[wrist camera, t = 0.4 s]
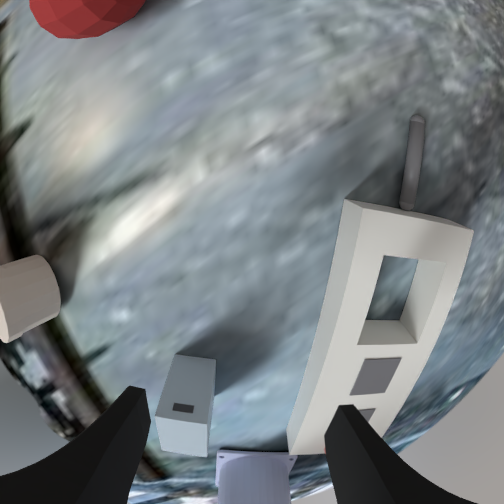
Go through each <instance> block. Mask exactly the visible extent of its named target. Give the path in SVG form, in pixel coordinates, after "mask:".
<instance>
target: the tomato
mask: <svg viewBox="0 0 504 504" xmlns="http://www.w3.org/2000/svg"><path fill="white" fill-rule="evenodd" d="M29 1H30V9H31V11H32V13H33V15H34V17H35V19H36V20H37V22H38V23H39V25H40V26H41V27H42V28H44V29H45V30H47V31H48V32H50V33H52V34H53V35H55V36H56V37H58V38H71V39H80V38H89V37H98V36H100V35H102V34H104V33H106V32H108V31H110V30H112V29H114V28H116V27H118V26H119V25H121V24H123V23H124V22H126V21H128V20H129V19H131V18H133V17H134V16H135V15H136V13H137V12H138V11H139V9H140V8H141V7H142V5H143V4H144V3H145V1H146V0H29Z"/></svg>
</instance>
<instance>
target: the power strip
mask: <svg viewBox="0 0 504 504" xmlns="http://www.w3.org/2000/svg"><path fill="white" fill-rule="evenodd" d="M424 134H425V121H424V119H423V118H422V117H421V116H419V115H414V116H412V117H411V119H410V125H409V136H408V146H407V154H406V162H405V170H404V176H403V183H402V189H401V195H400V201H399V204H400V207H401V208H402V209H398V208H393V207H388V206H383V205H378V204H372V203H366V202H361V201H355V200H349V199H344V202H343V208H342V214H341V219H340V225H339V230H338V236H337V241H336V246H335V251H334V256H333V261H332V266H331V270H330V275H329V279H328V284H327V288H326V293H325V297H324V301H323V305H322V309H321V313H320V317H319V321H318V325H317V329H316V333H315V337H314V341H313V344H312V348H311V351H310V355H309V359H308V362H307V366H306V369H305V372H304V376H303V379H302V382H301V386H300V389H299V392H298V395H297V398H296V402H295V405H294V408H293V411H292V414H291V417H290V420H289V423H288V426H287V428H286V431H287V439H288V448H289V455H306V454H323V453H325V454H326V450H325V440H324V434H325V433H326V431H327V429H328V427H329V425H330V423H331V421H332V419H333V416H334V414H335V412H336V410H337V408H338V406H339V405H349V404H354V406H355V407H356V408H357V409H358V411H359V412H360V413H361V414H362V415H363V417H364V418H365V419H366V420H367V422H368V423H369V424H370V425H371V426H372V428H373V429H374V430H375V431H376V432H377V433H378V435H379V436H380V437H381V438H382V436H383V435H384V434H385V432H386V431H387V429H388V428H389V426H390V425H391V423H392V422H393V420H394V419H395V417H396V415H397V414H398V412H399V411H400V409H401V407H402V406H403V404H404V402H405V401H406V399H407V397H408V396H409V394H410V392H411V390H412V389H413V387H414V385H415V383H416V381H417V380H418V378H419V376H420V374H421V372H422V370H423V368H424V366H425V364H426V362H427V360H428V358H429V356H430V354H431V352H432V350H433V348H434V346H435V343H436V341H437V339H438V337H439V334H440V332H441V330H442V327H443V325H444V323H445V320H446V318H447V315H448V313H449V310H450V307H451V305H452V302H453V299H454V297H455V294H456V291H457V288H458V285H459V282H460V279H461V276H462V273H463V270H464V266H465V263H466V259H467V256H468V252H469V249H470V245H471V241H472V237H473V233H474V230H472V229H469V228H467V227H465V226H462V225H460V224H458V223H455V222H453V221H451V220H448V219H445V218H441V217H436V216H432V215H427V214H423V213H418V212H413V211H410V210H412V209H413V208H414V206H415V200H416V195H417V189H418V183H419V176H420V169H421V162H422V153H423V144H424ZM383 255H387V256H396V257H404V258H412V259H419V260H418V264H417V268H416V271H415V275H414V278H413V281H412V285H411V288H410V291H409V294H408V297H407V300H406V303H405V306H404V309H403V312H402V315H401V317H400V320H365V319H366V316H367V313H368V310H369V306H370V303H371V300H372V296H373V293H374V289H375V286H376V282H377V279H378V275H379V271H380V267H381V263H382V259H383Z"/></svg>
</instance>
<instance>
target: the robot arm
mask: <svg viewBox="0 0 504 504" xmlns="http://www.w3.org/2000/svg"><path fill="white" fill-rule="evenodd" d="M150 424H151V419H150V414H149V409H148V403H147V397H146V391H145V389H142V388H138V387H133V386H129V387H127V388H126V389H125V391H124V392H123V393H122V394H121V395H120V396H119V397H118V398H117V399H116V400H115V401H114V403H113V404H112V405H111V406H110V407H109V408H108V409H107V410H106V411H105V412H104V413H103V414H102V415H101V416H100V417H99V418H98V419H96V420H95V421H94V422H93V423H92V424H91V425H90V426H89V427H88V428H86V429H85V430H84V431H83V432H82V433H81V434H79V435H78V436H77V437H76V438H74V439H73V440H72V441H71V442H69V443H68V444H67V445H65V446H64V447H62V448H61V449H59V450H58V451H56V452H54V453H53V454H51V455H49V456H48V457H46V458H45V459H42V460H40V461H39V462H37V463H35V464H32V465H30V466H27V467H25V468H23V469H20V470H18V471H15V472H12V473H9V474H6V475H2V476H0V504H127V500H128V495H129V492H130V488H131V485H132V482H133V479H134V476H135V474H136V471H137V468H138V465H139V462H140V460H141V457H142V454H143V451H144V448H145V445H146V442H147V437H148V433H149V428H150ZM324 440H325V450H326V458H327V462H328V466H329V470H330V474H331V478H332V482H333V486H334V490H335V495H336V499H337V503H338V504H477V503H474V502H471V501H468V500H466V499H463V498H460V497H458V496H456V495H453V494H451V493H449V492H447V491H446V490H444V489H442V488H440V487H438V486H437V485H435V484H434V483H432V482H430V481H429V480H427V479H426V478H424V477H423V476H421V475H420V474H419V473H418V472H416V471H415V470H414V469H413V468H411V467H410V466H409V465H408V464H407V463H405V462H404V461H403V460H402V459H401V458H400V457H399V456H398V455H397V454H396V453H395V452H394V451H393V450H392V449H391V448H390V447H389V446H388V445H387V444H386V442H385V441H384V440H383V439H382V438H381V437H380V436H379V435H378V433H377V432H376V431H375V430H374V429H373V428H372V426H371V425H370V424H369V423H368V422H367V420H366V419H365V418H364V417H363V415H362V414H361V413H360V412H359V411H358V409H357V408H356V407H355V406H354V404H349V405H339V406H338V408H337V410H336V412H335V414H334V416H333V419H332V421H331V423H330V425H329V427H328V429H327V431H326V433H325V434H324ZM297 457H298V455H289V452H248V451H233V450H218V451H217V464H216V484H215V485H216V486H217V487H219V490H218V504H291V496H290V487H289V477H288V475H289V473H290V471H291V469H292V467H293V465H294V463H295V461H296V459H297Z"/></svg>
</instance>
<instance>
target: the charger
mask: <svg viewBox="0 0 504 504" xmlns="http://www.w3.org/2000/svg"><path fill="white" fill-rule="evenodd" d="M215 373H216V359H207V358H199V357H191V356H184V355H177V354H175V355H174V358H173V361H172V364H171V367H170V370H169V373H168V376H167V379H166V382H165V385H164V388H163V391H162V395H161V398H160V401H159V404H158V407H157V410H156V414H155V420H156V425H157V430H158V435H159V439H160V444H161V448H162V450H164V451H169V452H175V453H181V454H187V455H194V456H201V457H207V453H208V445H209V436H210V428H211V419H212V411H213V403H214V393H215Z"/></svg>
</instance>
